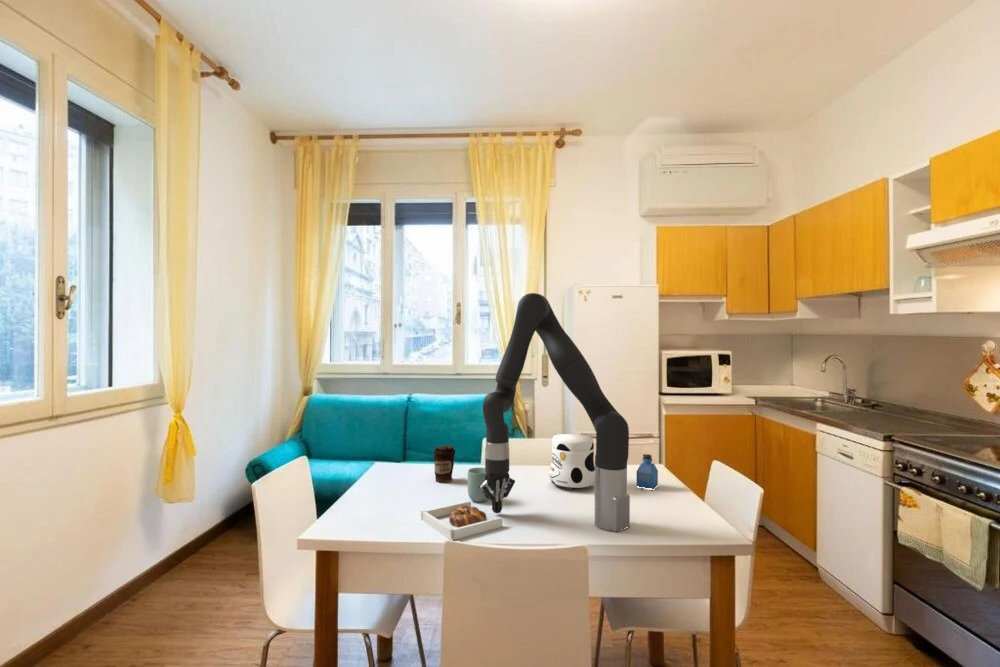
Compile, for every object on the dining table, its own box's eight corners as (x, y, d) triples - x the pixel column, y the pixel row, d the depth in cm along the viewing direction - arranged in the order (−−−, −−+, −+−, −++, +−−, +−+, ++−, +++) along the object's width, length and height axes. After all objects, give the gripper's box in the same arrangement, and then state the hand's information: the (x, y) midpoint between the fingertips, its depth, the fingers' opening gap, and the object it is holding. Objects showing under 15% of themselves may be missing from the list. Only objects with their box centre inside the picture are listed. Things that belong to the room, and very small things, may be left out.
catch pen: (502, 526, 136) (502, 517, 136) (451, 540, 126) (451, 531, 126) (469, 508, 150) (469, 500, 150) (421, 519, 140) (421, 511, 140)
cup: (487, 504, 154) (487, 474, 154) (464, 503, 155) (465, 472, 156) (492, 497, 161) (493, 468, 162) (470, 495, 163) (471, 466, 163)
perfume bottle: (657, 486, 176) (657, 454, 176) (653, 491, 171) (653, 458, 171) (641, 484, 179) (641, 452, 179) (636, 488, 174) (636, 455, 174)
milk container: (539, 485, 175) (540, 437, 176) (566, 476, 188) (566, 431, 188) (579, 496, 163) (579, 444, 164) (604, 485, 176) (605, 437, 177)
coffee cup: (453, 484, 176) (454, 449, 176) (431, 484, 176) (431, 449, 176) (456, 477, 184) (456, 444, 185) (435, 477, 184) (435, 444, 185)
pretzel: (442, 518, 142) (442, 506, 143) (475, 513, 147) (475, 501, 147) (456, 532, 132) (457, 519, 132) (491, 526, 137) (491, 513, 137)
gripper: (486, 461, 138) (486, 520, 138) (521, 455, 146) (521, 511, 146) (472, 456, 144) (472, 513, 144) (506, 451, 152) (506, 504, 152)
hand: (497, 512), depth 145 cm, fingers closed
